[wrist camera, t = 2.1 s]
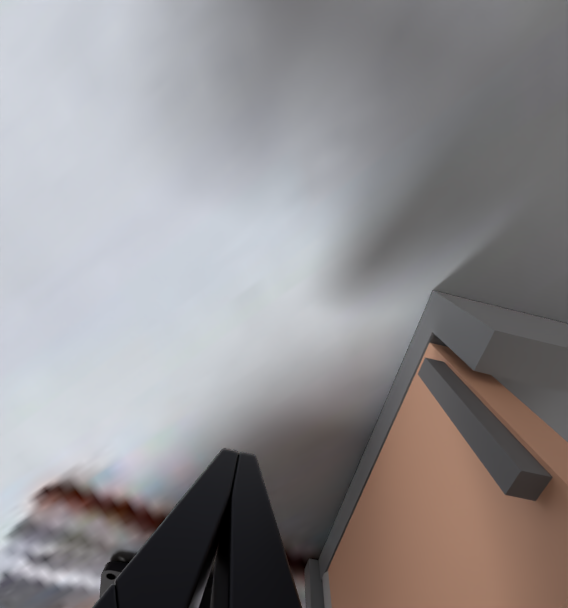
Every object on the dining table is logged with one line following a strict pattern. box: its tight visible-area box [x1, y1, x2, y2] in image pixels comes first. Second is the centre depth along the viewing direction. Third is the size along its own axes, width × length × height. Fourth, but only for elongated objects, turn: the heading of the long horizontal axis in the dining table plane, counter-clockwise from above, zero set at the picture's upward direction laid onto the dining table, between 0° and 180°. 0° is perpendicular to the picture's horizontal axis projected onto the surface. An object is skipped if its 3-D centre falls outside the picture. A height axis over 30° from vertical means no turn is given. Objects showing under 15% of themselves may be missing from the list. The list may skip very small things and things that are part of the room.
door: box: [322, 343, 568, 608], centre depth 9 cm, size 13×2×6 cm, turn 166°
